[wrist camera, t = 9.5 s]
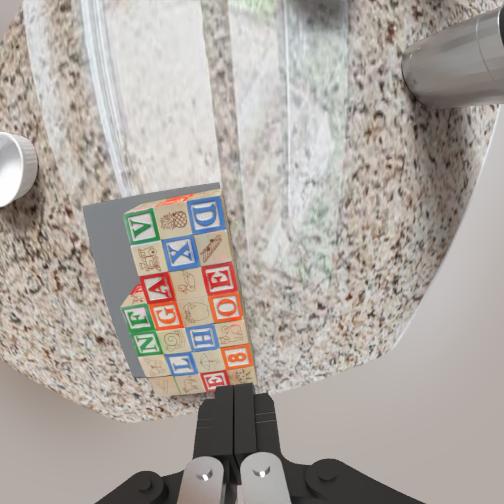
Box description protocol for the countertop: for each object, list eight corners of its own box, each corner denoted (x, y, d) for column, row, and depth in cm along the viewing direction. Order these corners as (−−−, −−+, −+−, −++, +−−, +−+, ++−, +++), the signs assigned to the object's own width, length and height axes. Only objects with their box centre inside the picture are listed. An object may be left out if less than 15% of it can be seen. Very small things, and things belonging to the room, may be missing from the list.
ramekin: (50, 142, 29) (31, 142, 25) (33, 210, 32) (13, 218, 28) (4, 125, 28) (-16, 125, 24) (-11, 189, 30) (-30, 194, 26)
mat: (219, 182, 33) (219, 182, 32) (246, 367, 40) (246, 368, 40) (83, 206, 32) (82, 206, 32) (134, 375, 40) (133, 377, 39)
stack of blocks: (223, 186, 32) (115, 208, 32) (222, 193, 26) (92, 220, 26) (254, 355, 39) (162, 366, 39) (258, 386, 33) (154, 397, 33)
